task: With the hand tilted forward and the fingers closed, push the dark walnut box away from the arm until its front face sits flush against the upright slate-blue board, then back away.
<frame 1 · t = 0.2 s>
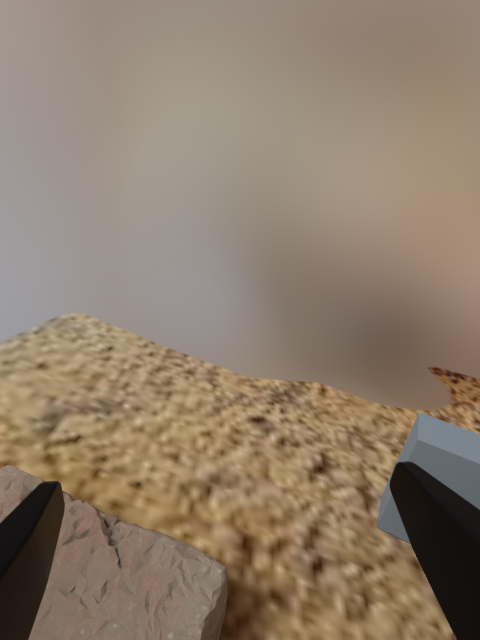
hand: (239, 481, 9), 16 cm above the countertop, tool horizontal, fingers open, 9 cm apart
brick: (68, 619, 20), on the countertop
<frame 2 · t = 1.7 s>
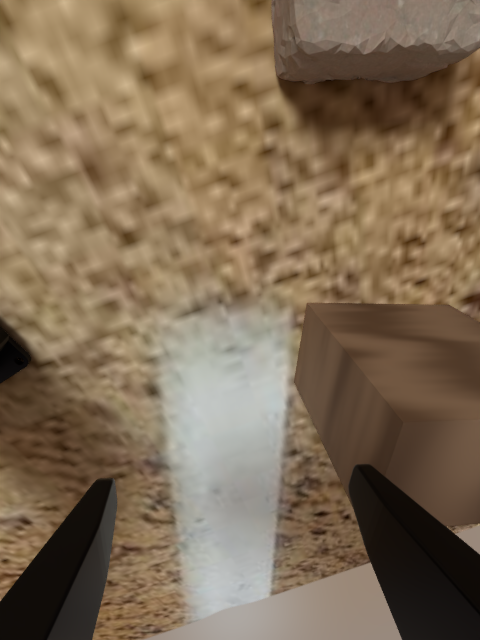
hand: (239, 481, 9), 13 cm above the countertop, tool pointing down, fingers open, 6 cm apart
walnut box: (369, 343, 24), on the countertop
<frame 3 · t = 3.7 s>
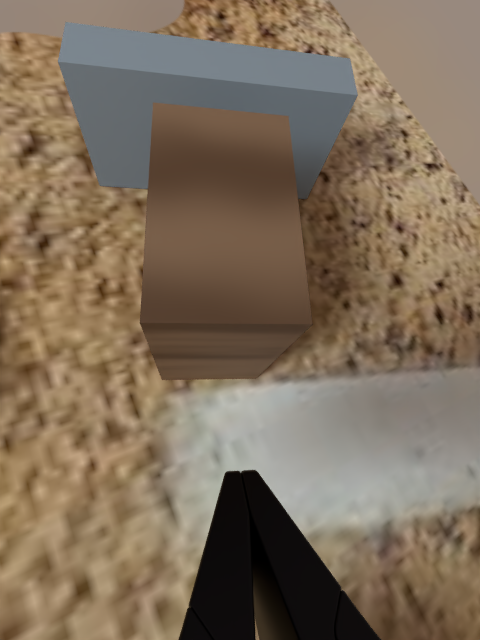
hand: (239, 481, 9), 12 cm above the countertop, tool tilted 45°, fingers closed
walnut box: (209, 306, 24), on the countertop
slate board: (207, 177, 28), on the countertop
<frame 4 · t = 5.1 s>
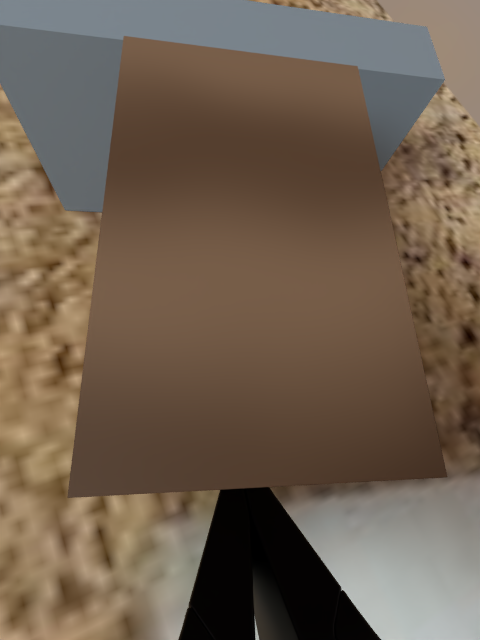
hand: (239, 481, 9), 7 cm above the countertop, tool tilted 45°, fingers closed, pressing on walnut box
walnut box: (215, 353, 17), on the countertop, touching gripper
slate board: (212, 196, 21), on the countertop
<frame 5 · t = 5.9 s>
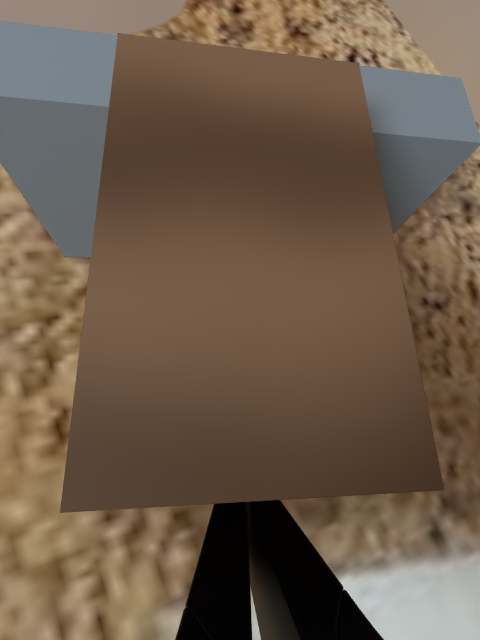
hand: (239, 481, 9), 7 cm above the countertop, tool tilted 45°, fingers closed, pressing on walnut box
walnut box: (214, 352, 17), on the countertop, touching gripper, slate board
slate board: (220, 238, 19), on the countertop
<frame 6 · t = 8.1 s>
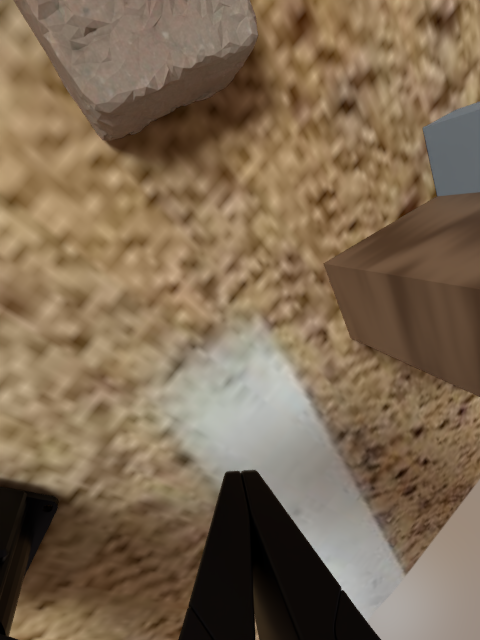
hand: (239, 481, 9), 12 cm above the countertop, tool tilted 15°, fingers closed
walnut box: (393, 267, 25), on the countertop, touching slate board
slate board: (461, 230, 26), on the countertop
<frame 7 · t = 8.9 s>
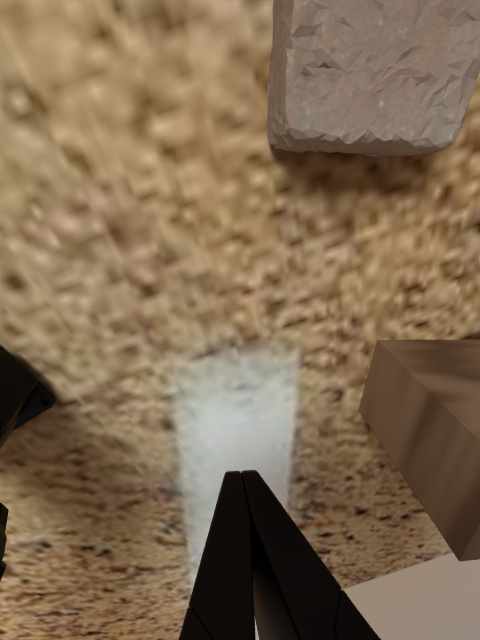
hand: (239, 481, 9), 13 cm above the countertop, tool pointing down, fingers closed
walnut box: (430, 375, 26), on the countertop, touching slate board
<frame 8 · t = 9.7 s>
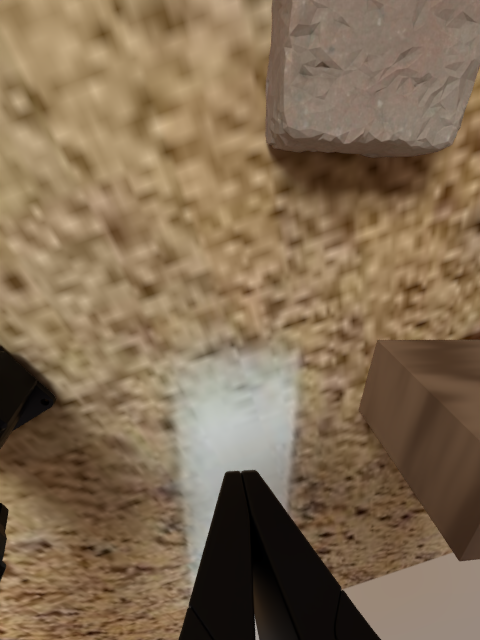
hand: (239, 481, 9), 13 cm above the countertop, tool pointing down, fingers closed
walnut box: (430, 375, 26), on the countertop
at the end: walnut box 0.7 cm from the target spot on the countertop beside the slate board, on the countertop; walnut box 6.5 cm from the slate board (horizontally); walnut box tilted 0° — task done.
